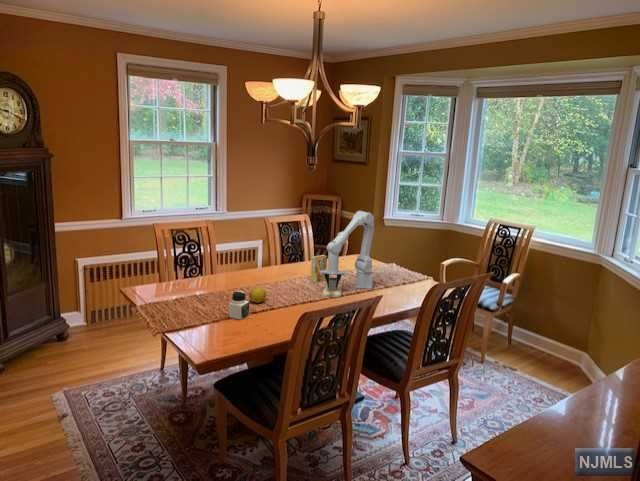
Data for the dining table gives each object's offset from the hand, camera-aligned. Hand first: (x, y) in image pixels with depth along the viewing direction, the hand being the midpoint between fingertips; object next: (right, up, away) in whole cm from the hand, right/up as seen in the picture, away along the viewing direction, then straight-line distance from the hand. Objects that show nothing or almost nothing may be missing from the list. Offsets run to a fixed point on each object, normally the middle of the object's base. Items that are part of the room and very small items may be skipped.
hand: (332, 287), depth 271 cm
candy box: (-8, +2, +20) cm, 21 cm away
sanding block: (0, -1, 0) cm, 1 cm away
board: (0, -2, +2) cm, 3 cm away
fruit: (-39, -6, -19) cm, 44 cm away
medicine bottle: (-46, -10, -39) cm, 61 cm away
